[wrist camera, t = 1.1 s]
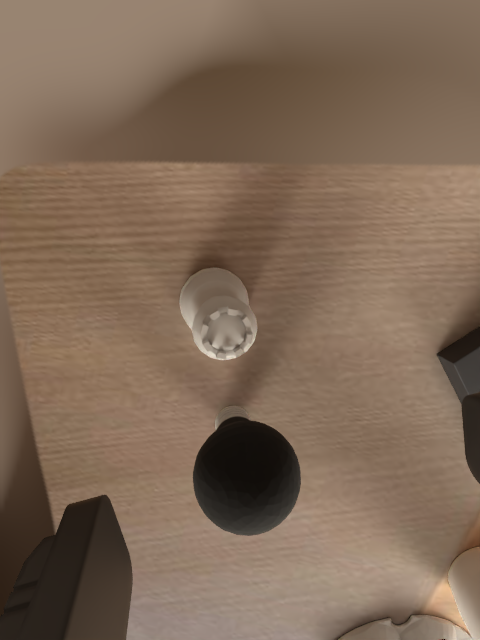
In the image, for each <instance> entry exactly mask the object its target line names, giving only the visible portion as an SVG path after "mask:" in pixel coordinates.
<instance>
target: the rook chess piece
mask: <svg viewBox="0 0 480 640" xmlns="http://www.w3.org/2000/svg"><path fill="white" fill-rule="evenodd" d="M179 303H180V309H181V314H182V316H183V318H184V320H185V321H186V323H187V324H188V326H189V327H190V328H191V329H192V332H193V338H194V342H195V343H196V345H197V346H198V348H199V349H200V350H201V352H203V353H205V354H206V355H208V356H209V357H211V358H214V359H219V360H228V359H233V358H237V357H239V356H240V355H242V354H243V353H245V352H247V351H248V349H249V348H250V347H251V345H252V344H253V343H254V341H255V337H256V333H257V330H258V329H257V322H256V317H255V315H254V313H253V312H252V310H251V308H250V307H249V300H248V293H247V291H246V288H245V287H244V285H243V283H242V282H241V280H240V278H238V277H237V276H236V275H234V274H233V273H232V272H230V271H229V270H225V269H221V268H216V267H214V268H208V269H202V270H200V271H199V272H197V273H195V274H194V275H192V276H191V277H189V279H188V280H187V282H186V283H185V285H184V286H183V287H182V290H181V295H180V299H179Z"/></svg>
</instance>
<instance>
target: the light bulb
mask: <svg viewBox="0 0 480 640" xmlns="http://www.w3.org/2000/svg"><path fill="white" fill-rule="evenodd" d="M215 428H216V431H215V432H214V433H213V434H212V435H211V436H210V437H209V438H208V439H207V440H206V442H205V443H204V444H203V446H202V447H201V449H200V451H199V452H198V455H197V458H196V461H195V466H194V471H193V483H194V491H195V495H196V498H197V500H198V503H199V505H200V507H201V509H202V510H203V512H204V513H205V515H206V516H207V517H208V518H209V519H210V520H211V521H212V522H213V523H214V524H216V525H217V526H218V527H220V528H221V529H223V530H225V531H228V532H231V533H234V534H237V535H247V536H250V535H257V534H261V533H264V532H267V531H270V530H271V529H273V528H274V527H276V526H277V525H279V524H280V523H281V522H282V521H283V520H284V519H285V518H286V517H287V516H288V515H289V513H290V512H291V511H292V509H293V507H294V505H295V503H296V500H297V497H298V494H299V491H300V485H301V477H300V466H299V462H298V459H297V456H296V454H295V452H294V450H293V448H292V446H291V445H290V443H289V442H288V441H287V440H286V439H285V438H284V436H283V435H282V434H281V433H279V432H278V431H277V430H275V429H274V428H272V427H270V426H268V425H266V424H263V423H260V422H256V421H251V419H250V416H249V414H248V412H247V411H246V410H245V409H244V408H242V407H239V406H228V407H225V408H224V409H222V410H221V411H220V412H219V413H218V415H217V417H216V420H215Z"/></svg>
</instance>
